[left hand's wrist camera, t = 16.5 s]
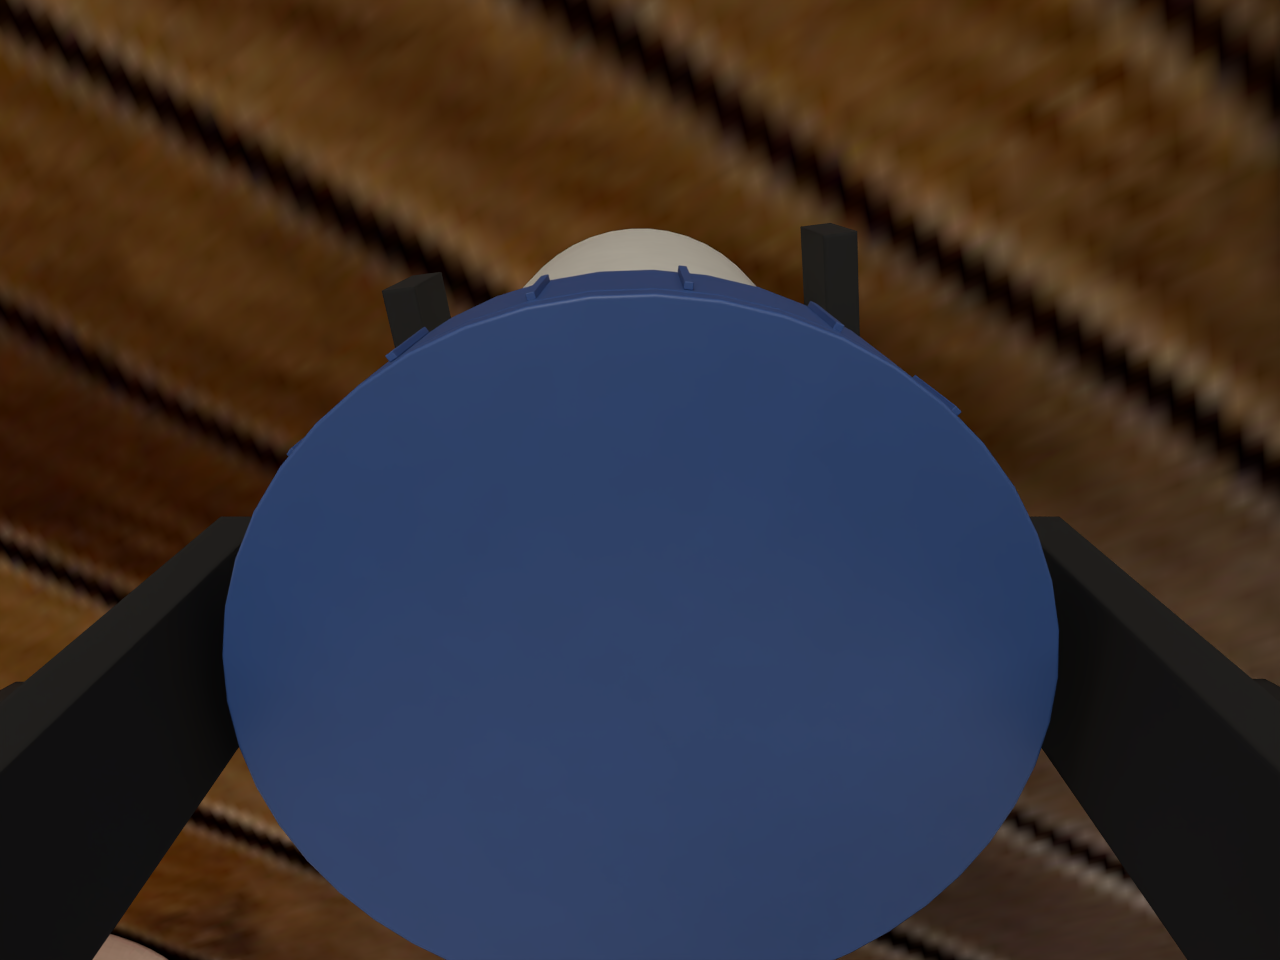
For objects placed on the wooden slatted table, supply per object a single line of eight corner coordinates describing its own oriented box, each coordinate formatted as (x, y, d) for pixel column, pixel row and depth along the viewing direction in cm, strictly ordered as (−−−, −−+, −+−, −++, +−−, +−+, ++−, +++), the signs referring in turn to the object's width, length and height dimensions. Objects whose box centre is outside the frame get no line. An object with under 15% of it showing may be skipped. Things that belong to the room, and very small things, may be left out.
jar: (681, 165, 24) (757, 169, 9) (832, 411, 27) (1101, 757, 11) (441, 338, 26) (141, 601, 10) (605, 550, 29) (564, 1016, 13)
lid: (163, 366, 11) (56, 411, 9) (962, 172, 10) (1040, 173, 8) (419, 931, 15) (385, 1051, 13) (1018, 825, 14) (1082, 936, 12)
